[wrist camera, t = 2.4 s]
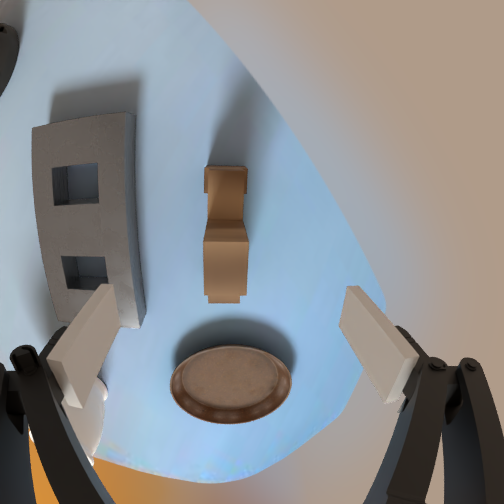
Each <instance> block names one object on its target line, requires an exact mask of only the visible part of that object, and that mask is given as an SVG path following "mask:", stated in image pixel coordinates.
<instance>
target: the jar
mask: <svg viewBox="0 0 504 504" xmlns="http://www.w3.org/2000/svg"><path fill="white" fill-rule="evenodd" d="M107 396H108V391H107V388H106V386H105V385H104V383H103V382H102V381H101V380H100V379H99V378H98V377H96V380H95V382H94V384H93V387H92V389H91V391H90V394H89V396H88V398H87V401H86V403H85V406H84V408H83V409H82V408H77V407H73V406H69V405H68V403H67V401H66V399H65V397H64V398H63V400H62V402H61V404H62V405H63V407H64V409H65V412H66V414H67V417H68V419H69V421H70V423H71V426H72V428H73V430H74V432H75V434H76V436H77V438H78V440H79V442H80V444H81V446H82V448H83V450H84V452H85V454H86V456H87V458H88V460H89V462H90V463H91V465H92V467H93V464H94V459H93V457H92V455H93V454H94V452H95V451H96V449H97V447H98V445H99V442H100V439H101V436H102V431H103V420H104V414H105V405H104V401H105V400H106V398H107ZM29 435H30V438H31V439H32V441H33V442H34V440H33V437H32V434H31V431H30V432H29Z"/></svg>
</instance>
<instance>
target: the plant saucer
mask: <svg viewBox="0 0 504 504" xmlns="http://www.w3.org/2000/svg"><path fill="white" fill-rule="evenodd" d="M291 386H292V379H291V375H290V372H289V370H288V368H287V367H286V366H285V365H284V363H283V362H282V361H280V360H279V359H278V358H276V357H275V356H273V355H272V354H270V353H268V352H266V351H264V350H261V349H259V348H255V347H252V346H247V345H240V344H225V345H218V346H213V347H209V348H206V349H203V350H201V351H198V352H196V353H194V354H193V355H191V356H189V357H188V358H186V359H185V360H184V361H183V362H182V363H181V364H180V365H179V366H178V367H177V368H176V369H175V371H174V372H173V374H172V376H171V380H170V391H171V394H172V397H173V399H174V400H175V402H176V403H177V405H178V406H179V407H180V408H181V409H183V410H184V411H185V412H187V413H188V414H190V415H191V416H193V417H196V418H198V419H200V420H203V421H207V422H211V423H217V424H240V423H247V422H251V421H254V420H257V419H260V418H262V417H265V416H267V415H269V414H270V413H272V412H273V411H275V410H276V409H277V408H279V407H280V406H281V405H282V404H283V403H284V401H285V400H286V399H287V397H288V395H289V393H290V390H291Z"/></svg>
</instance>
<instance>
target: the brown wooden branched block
mask: <svg viewBox="0 0 504 504" xmlns="http://www.w3.org/2000/svg"><path fill="white" fill-rule="evenodd" d="M247 173H248V169H247V168H246V167H245V166H216V165H207V166H206V167H205V172H204V193H208V220H207V225H206V230H205V235H204V240H203V262H204V295H208V303H240V296H241V295H246V294H247V272H248V251H249V241H248V237H247V234H246V230H245V226H244V223H243V200H244V194H247Z"/></svg>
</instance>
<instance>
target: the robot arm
mask: <svg viewBox="0 0 504 504" xmlns="http://www.w3.org/2000/svg"><path fill="white" fill-rule="evenodd" d="M18 46H19V41H18V35H17V32H16V31H15V29H14V28H12V27H11V26H8V25H6V24H3V23H0V96H1V95H2V93H3V91H4V89H5V87H6V86H7V83H8V81H9V79H10V77H11V74H12V72H13V69H14V66H15V63H16V59H17V54H18ZM120 327H121V324H120V319H119V314H118V309H117V304H116V299H115V293H114V287H113V284H101V285H100V286H99V287H98V288H97V290H96V291H95V292H94V293H93V295H92V296H91V297H90V299H89V300H88V301H87V302H86V304H85V305H84V306H83V308H82V309H81V310H80V312H79V313H78V314H77V316H76V317H75V318H74V320H73V321H72V322H71V324H70V325H69V327H65V326H63V327H62V328H60V329H59V330H57V331H56V332H55V334H54V335H53V336H52V338H51V339H50V340H49V342H48V344H46V346H45V347H44V349H43V350H42V351H41V353H40V354H39V356H38V354H37V352H36V350H35V348H34V347H33V346H31V345H22V346H19V347H17V348H16V349H14V350H13V351H12V353H11V354H10V360H11V362H12V364H13V366H14V368H15V370H16V371H6V369H5V367H4V365H3V364H2V363H0V504H36V499H35V493H34V487H33V480H32V473H31V463H30V453H29V434H28V424H29V427H30V431H31V434H32V437H33V440H34V443H35V446H36V449H37V452H38V455H39V457H40V460H41V463H42V466H43V468H44V471H45V473H46V476H47V478H48V480H49V483H50V485H51V487H52V489H53V491H54V494H55V496H56V498H57V500H58V502H59V504H116V503H115V502H114V501H113V499H112V498H111V496H110V495H109V493H108V492H107V490H106V488H105V487H104V485H103V484H102V482H101V480H100V479H99V477H98V476H97V474H96V472H95V470H94V469H93V467H92V465H91V463H90V462H89V460H88V458H87V456H86V454H85V452H84V450H83V448H82V446H81V444H80V442H79V440H78V438H77V436H76V434H75V432H74V430H73V428H72V426H71V423H70V421H69V419H68V417H67V414H66V412H65V409H64V407H63V405H62V404H61V402H62V400H63V398H64V397H65V399H66V401H67V403H68V405H69V406H73V407H77V408H82V409H83V408H84V406H85V403H86V401H87V398H88V396H89V394H90V391H91V389H92V387H93V384H94V382H95V380H96V377H97V375H98V373H99V371H100V369H101V366H102V364H103V362H104V360H105V358H106V356H107V353H108V351H109V349H110V347H111V345H112V343H113V341H114V339H115V337H116V335H117V333H118V331H119V329H120ZM339 328H340V329H341V331H342V333H343V334H344V336H345V338H346V339H347V341H348V343H349V344H350V346H351V348H352V349H353V351H354V353H355V354H356V356H357V358H358V359H359V361H360V363H361V364H362V366H363V368H364V369H365V371H366V373H367V375H368V376H369V378H370V380H371V382H372V383H373V385H374V387H375V388H376V390H377V392H378V394H379V395H380V397H381V399H382V401H383V402H384V404H386V403H390V402H394V401H397V400H398V399H399V397H400V395H401V393H402V391H403V393H404V394H405V396H406V398H405V400H404V402H403V403H402V405H401V407H400V409H399V410H398V413H400V414H399V418H398V421H397V424H396V427H395V430H394V433H393V436H392V438H391V441H390V444H389V447H388V449H387V452H386V454H385V457H384V459H383V462H382V464H381V466H380V469H379V471H378V473H377V476H376V478H375V480H374V482H373V485H372V487H371V489H370V491H369V493H368V495H367V497H366V499H365V501H364V503H363V504H426V503H425V498H426V494H427V491H428V488H429V485H430V481H431V477H432V474H433V469H434V465H435V461H436V457H437V452H438V447H439V442H440V437H441V431H442V442H443V456H444V504H504V437H503V433H502V429H501V425H500V421H499V418H498V414H497V410H496V407H495V404H494V401H493V398H492V394H491V392H490V389H489V386H488V383H487V380H486V377H485V374H484V372H483V369H482V367H481V365H480V363H478V362H477V361H476V360H475V359H473V358H463V359H462V360H461V362H460V364H459V365H458V366H447V364H446V363H445V362H444V361H443V360H441V359H439V358H436V357H429V356H428V355H427V354H426V353H425V352H424V351H423V349H422V348H421V347H420V346H419V345H418V344H417V343H416V342H415V340H414V339H413V338H411V335H410V334H409V333H408V332H407V331H406V330H405V329H403V328H401V327H400V326H394V325H393V324H392V323H391V321H390V320H389V319H388V318H387V317H386V316H385V314H384V313H383V312H382V311H381V310H380V309H379V308H378V307H377V305H376V304H375V303H374V302H373V301H372V300H371V299H370V298H369V296H368V295H367V294H366V293H365V292H364V291H363V290H362V289H361V288H360V286H347V290H346V295H345V300H344V304H343V309H342V313H341V318H340V322H339Z"/></svg>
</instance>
